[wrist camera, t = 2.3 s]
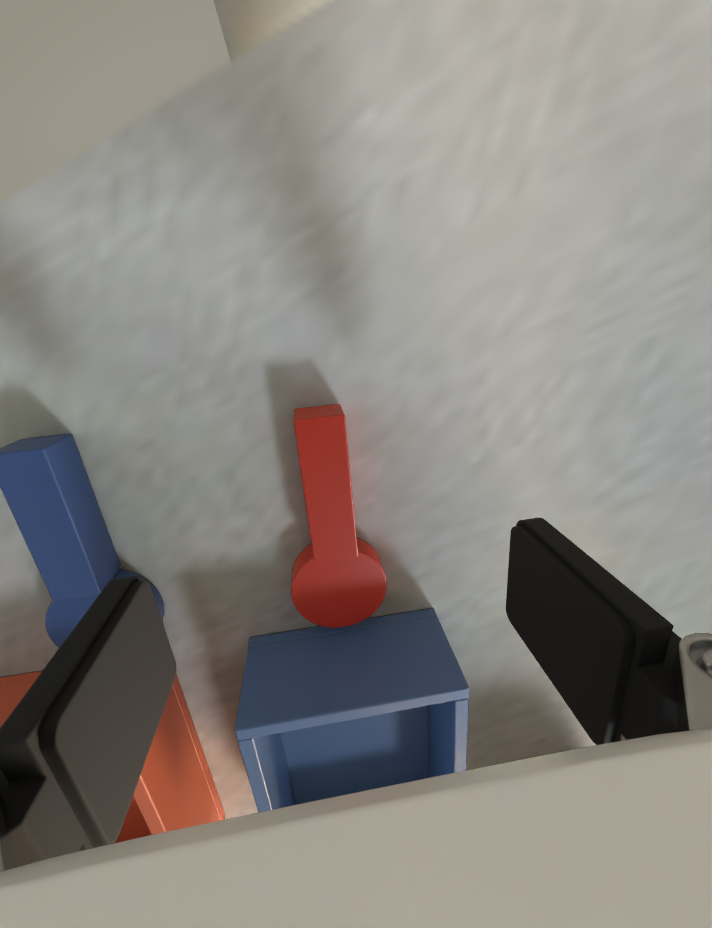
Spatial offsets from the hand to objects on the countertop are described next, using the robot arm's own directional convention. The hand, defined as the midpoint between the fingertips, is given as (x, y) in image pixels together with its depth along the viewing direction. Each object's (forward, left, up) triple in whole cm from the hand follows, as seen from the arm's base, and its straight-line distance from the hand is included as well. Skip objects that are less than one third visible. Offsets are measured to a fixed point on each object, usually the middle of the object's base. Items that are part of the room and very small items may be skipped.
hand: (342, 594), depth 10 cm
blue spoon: (+2, -10, -7) cm, 12 cm away
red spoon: (+2, 0, -7) cm, 7 cm away
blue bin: (+14, 0, -7) cm, 16 cm away
